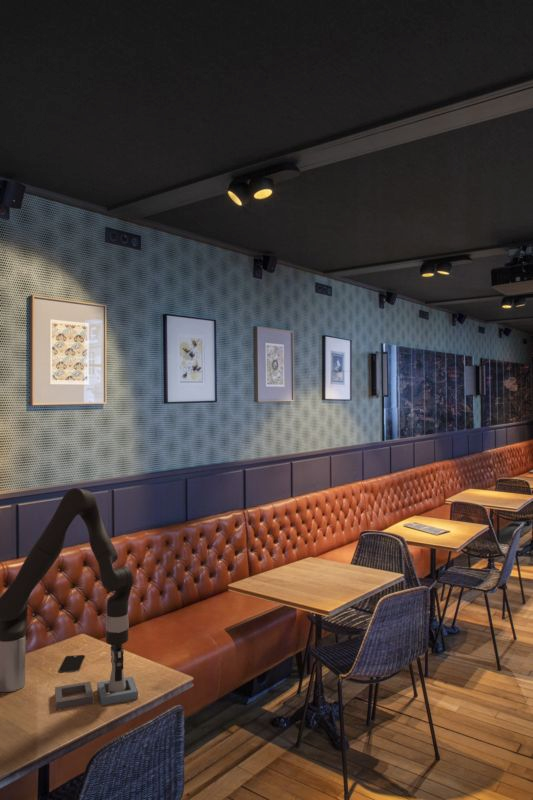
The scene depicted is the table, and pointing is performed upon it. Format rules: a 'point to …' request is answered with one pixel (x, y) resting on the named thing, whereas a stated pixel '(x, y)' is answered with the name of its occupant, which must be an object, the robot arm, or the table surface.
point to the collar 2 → (118, 696)
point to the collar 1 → (75, 700)
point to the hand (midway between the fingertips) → (116, 675)
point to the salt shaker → (117, 685)
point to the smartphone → (71, 663)
